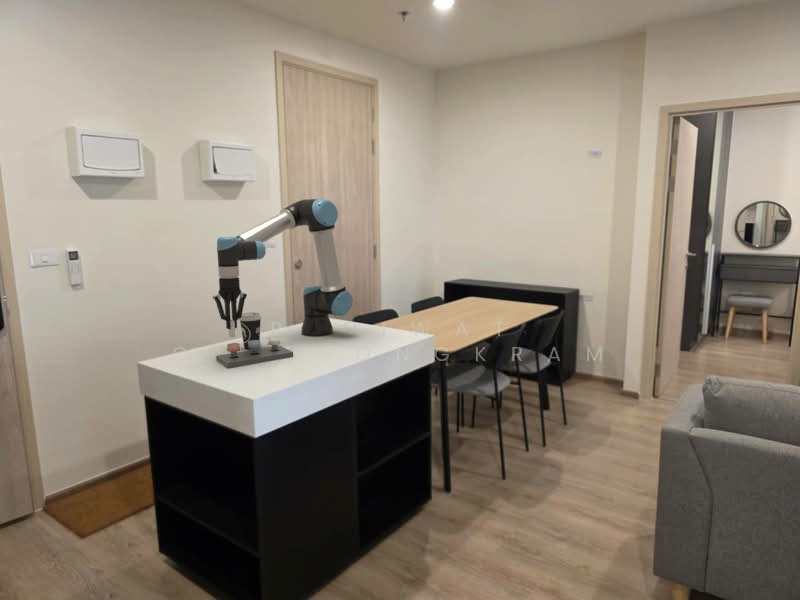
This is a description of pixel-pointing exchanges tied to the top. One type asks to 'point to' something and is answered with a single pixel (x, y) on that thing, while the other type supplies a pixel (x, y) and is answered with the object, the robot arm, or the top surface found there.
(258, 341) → the button blue
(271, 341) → the button cream
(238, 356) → the panel
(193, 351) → the top surface
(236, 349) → the button terracotta
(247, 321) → the coffee cup
